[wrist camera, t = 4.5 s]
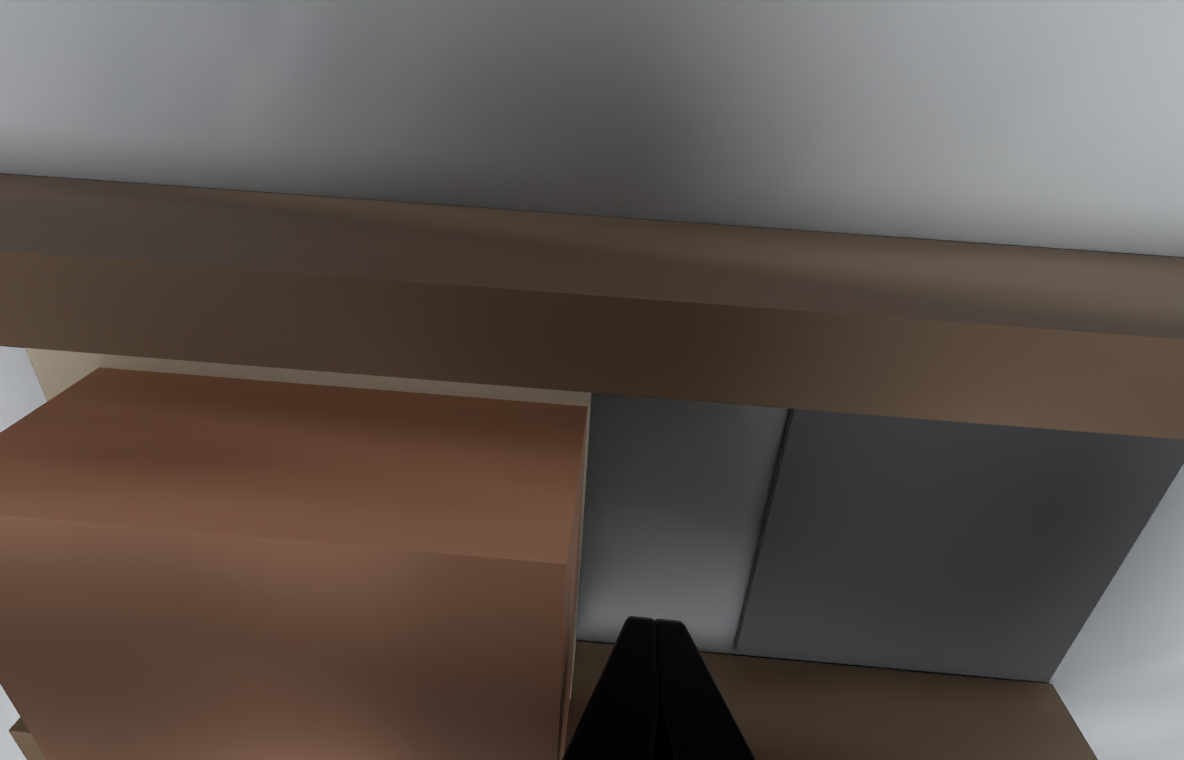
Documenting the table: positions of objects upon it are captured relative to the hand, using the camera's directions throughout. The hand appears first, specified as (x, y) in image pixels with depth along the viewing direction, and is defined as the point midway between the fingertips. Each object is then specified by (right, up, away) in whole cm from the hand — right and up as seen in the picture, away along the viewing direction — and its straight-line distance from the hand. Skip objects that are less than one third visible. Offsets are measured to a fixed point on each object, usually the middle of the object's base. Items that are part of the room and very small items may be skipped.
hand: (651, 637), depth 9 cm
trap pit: (+6, +1, +3) cm, 6 cm away
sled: (-5, +2, +3) cm, 6 cm away
